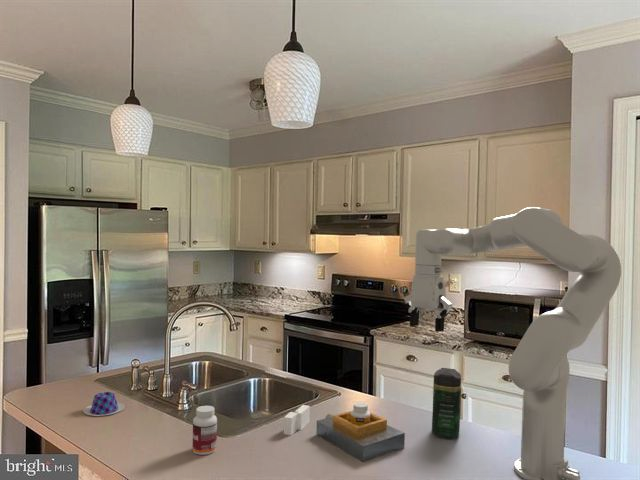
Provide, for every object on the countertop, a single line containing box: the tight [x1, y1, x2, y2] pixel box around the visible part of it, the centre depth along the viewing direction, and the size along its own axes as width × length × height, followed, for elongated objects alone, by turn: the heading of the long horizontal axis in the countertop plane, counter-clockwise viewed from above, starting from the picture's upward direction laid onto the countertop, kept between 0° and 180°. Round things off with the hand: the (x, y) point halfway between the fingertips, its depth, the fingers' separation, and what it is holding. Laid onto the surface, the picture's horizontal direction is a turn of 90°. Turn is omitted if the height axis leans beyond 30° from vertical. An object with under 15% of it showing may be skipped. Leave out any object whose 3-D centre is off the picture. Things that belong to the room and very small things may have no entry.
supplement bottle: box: [350, 401, 371, 426], centre depth 134 cm, size 6×6×10 cm
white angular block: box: [283, 404, 311, 436], centre depth 142 cm, size 15×11×6 cm
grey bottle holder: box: [315, 410, 406, 463], centre depth 135 cm, size 24×15×6 cm, turn 37°
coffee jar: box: [431, 367, 462, 440], centre depth 141 cm, size 10×8×19 cm
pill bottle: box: [191, 405, 218, 456], centre depth 125 cm, size 6×6×11 cm
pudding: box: [82, 391, 126, 417], centre depth 152 cm, size 12×12×5 cm
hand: (426, 328), depth 142 cm, fingers open, 9 cm apart
